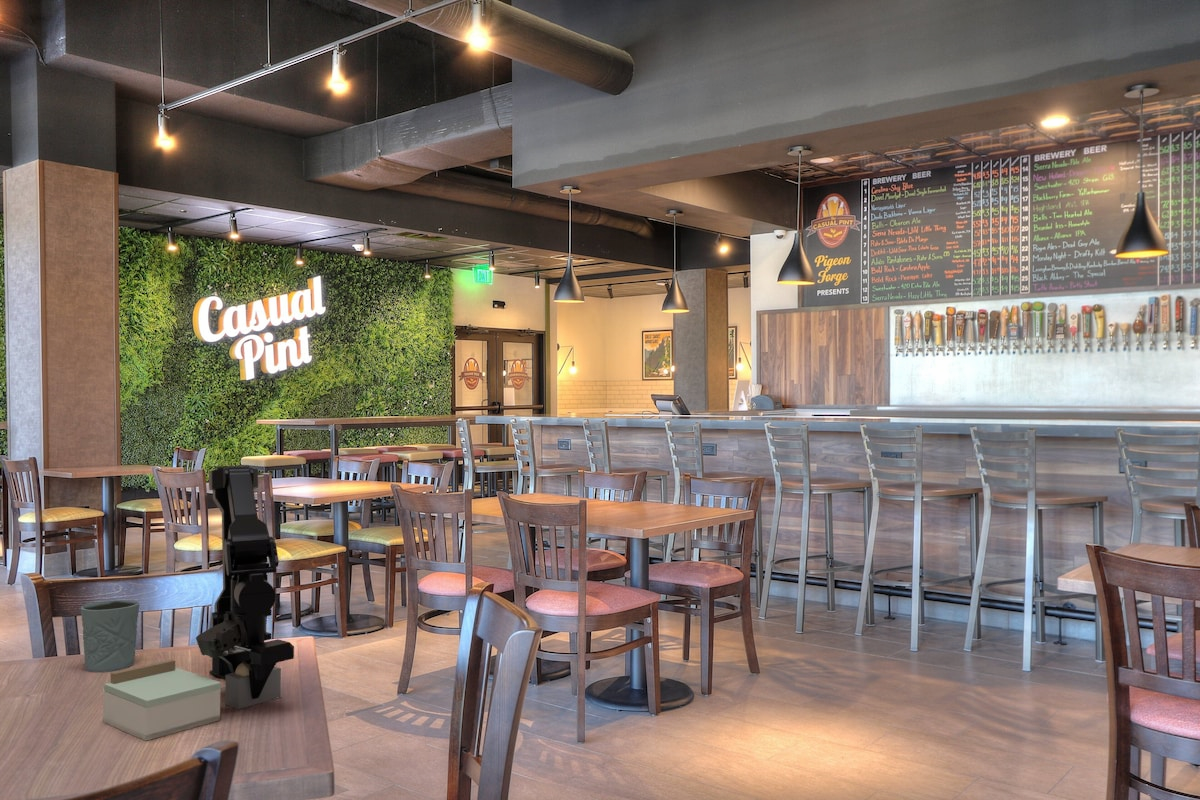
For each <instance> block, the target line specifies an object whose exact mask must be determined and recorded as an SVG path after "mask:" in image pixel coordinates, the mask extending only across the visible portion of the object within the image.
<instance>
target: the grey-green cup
mask: <svg viewBox="0 0 1200 800" xmlns="http://www.w3.org/2000/svg"><path fill="white" fill-rule="evenodd" d="M139 609H140V602H139V601H137V600H130V599H114V600H103V601H97V602H91V603H87V604H84V605H82V606H81V607H80V612H81V613H80V616H81V622H82V623H81V624H82V629H83V630H82V640H83V654H84V657H83V658H84V659H83V660H84V669H85V671H86V672H90V673H106V672H107V673H108V672H109V673H111V672H116V671H121V670H126V669H129V668H130V667H131V668H132V666H134V664H135V660H136V659H135V658H136V650H135V648H136V642H137V633H138V630H137V628H138V618H139V611H140V610H139Z"/></svg>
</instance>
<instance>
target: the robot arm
mask: <svg viewBox="0 0 1200 800" xmlns="http://www.w3.org/2000/svg"><path fill="white" fill-rule="evenodd" d="M258 488H259V469H258V468H253V467H250V465H221V466H220V465H217V466H215V469H212V470H210V471H209V473H208V489H209V491H212V500H213V502H214V503H215V505H216V506H217V508H218V510H220V512H221V541H222V542H221V543H222V544H221V545H222V546H221V547H222V555H221V556H222V590H221V592H220V593H219V596H218V597H217V599H216V600H215V602H214V609H213V610H214V612H210V613H211V614H210V621H209V626H208V629H206V630H204V631H203V632H201V633H200V634H198V635H196V637H195V640H196V643H197V645H198V648H199V651H200V654H201V655H202V656H208V657H209V658H211V670H209V674H210V675H213V676H216V677H220V678H222V679H225V680H226V675H227V674H231V673H235V671H236V668H237V667H238V665H239V664H241V663H242V664H243V665H244V666H246V667H247V668H248V670H249V679H250V689H251V696H252V699H256V698H259V696H260V694H261V692H262V690H263V688H264V686H265V683H266V681H267V679H268V677H269V675H270V673H271V672H272V670H273V668H274V667H276V665H277V663H281V662H285V661H290V660H293V659H295V646H294V645H293V644H292V643H291V642H290V641H287V640H286V641H285V640H282V639H278V638H277V639H273V640H272V633H271V632H268V631H267V617H269V616H272V607H274V605H275V602H276V598H277V597H276V591H275V589H274V587H273V586H272V584H271V583H270V582H269V580H268V574H271V573H277V568H278V567H279V556H278V555H279V554H278V549H277V543H276V542H275V540H274V537H273V536H270V533H269V529H268V526H267V523H265V522H264V521H262V520H261V519H259V516H258V511H257V505H256V498H255V493H254V492H255V491H254V489H258ZM268 561H269V562H268Z"/></svg>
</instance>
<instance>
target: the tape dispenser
mask: <svg viewBox="0 0 1200 800" xmlns="http://www.w3.org/2000/svg"><path fill="white" fill-rule="evenodd" d="M281 671H282V669H281V668H280V667H277V666H274V668H273V670H272V672H271V673H270V675H269V677H268V679H267V681H266V683H265V686H264V688H263V690H262V692H261V694H260V696H259V698H256V699H252V696H251V689H250V679H249V670H248V668H247V667H246V666H244V665H243V664H242V663H241V664H239V665H238V667H237V668H236V671H235V673H231V674H227V675H226V679H225V688H224V689H225V692H224V693H225V695H224V697H225V698H224V700H225V705H226V706H228V707H231V708H235V709H236V710H237V709H238V710H239V709H243V708H246V707H250V706H254V705H257V704H258V705H259V704H261V703H265V702H269V701H273V700H275V699H274V698H276V699H278V698H277V697H280V696H281V695H282V694H281V693H282V692H281V691H282V690H281V689H282V688H281V687H282V685H281V684H282V682H281V679H282V676H281V675H282V672H281ZM281 697H282V696H281ZM281 697H280V698H281ZM272 699H273V700H272Z"/></svg>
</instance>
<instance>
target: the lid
mask: <svg viewBox="0 0 1200 800" xmlns="http://www.w3.org/2000/svg"><path fill="white" fill-rule="evenodd" d="M219 689H220V690H222V682H221V681H218V680H215V679H212V678H209V677H207V676H203V675H200V674H198V673H194V672H191V671H188V670H185V669H182V668H179V667H176V660H173V659H167V660H163V661H159V662H155V663H149V664H146V665H141V666H140V665H139V666H136V667H131V668H130V667H129V668H125V669H121V670H117V671H111V672H110V682H109V683H108V682H107V683H104V685H103V690H104V691H107V692H109V693H112V694H114V695H117V696H119V697H122V698H124V699H127V700H129V701H132V702H134V703H137V704H139V705H142V706H144V707H151V706H155V705H159V704H163V703H167V702H171V701H175V700H179V699H183V698H187V697H191V696H195V695H199V694H203V693H207V692H211V691H215V690H219Z"/></svg>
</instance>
